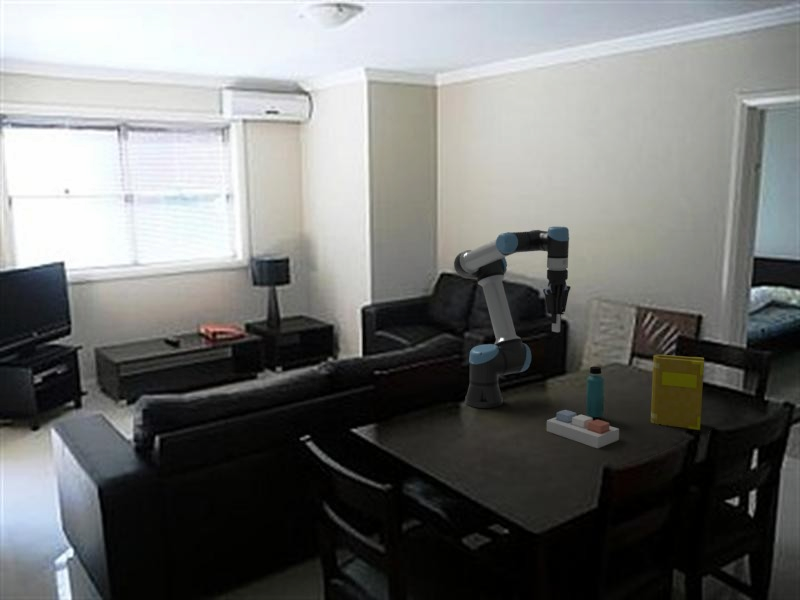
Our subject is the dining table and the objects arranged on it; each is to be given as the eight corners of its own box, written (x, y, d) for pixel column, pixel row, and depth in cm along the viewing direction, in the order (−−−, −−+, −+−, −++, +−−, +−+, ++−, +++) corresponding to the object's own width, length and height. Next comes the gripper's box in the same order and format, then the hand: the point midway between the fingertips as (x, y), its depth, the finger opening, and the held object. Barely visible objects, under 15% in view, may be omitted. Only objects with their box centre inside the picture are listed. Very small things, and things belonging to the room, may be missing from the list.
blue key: (556, 425, 250) (556, 412, 249) (565, 422, 253) (565, 409, 252) (567, 429, 246) (567, 416, 245) (576, 426, 249) (576, 412, 248)
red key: (588, 436, 239) (588, 422, 238) (597, 432, 242) (597, 419, 241) (600, 440, 235) (600, 426, 234) (609, 436, 238) (609, 423, 237)
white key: (571, 430, 245) (572, 417, 244) (580, 427, 248) (581, 414, 247) (583, 434, 241) (583, 421, 240) (592, 431, 244) (592, 417, 243)
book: (700, 423, 253) (704, 357, 249) (699, 429, 247) (703, 362, 243) (651, 418, 260) (654, 353, 256) (649, 423, 254) (652, 358, 250)
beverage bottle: (604, 421, 258) (605, 369, 254) (585, 420, 259) (587, 369, 256) (602, 415, 264) (604, 365, 261) (584, 415, 265) (586, 364, 262)
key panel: (546, 430, 249) (546, 420, 249) (567, 423, 257) (568, 413, 256) (597, 448, 232) (597, 437, 231) (618, 439, 239) (619, 428, 239)
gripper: (553, 271, 247) (552, 335, 251) (577, 268, 255) (575, 330, 259) (537, 269, 253) (536, 332, 257) (561, 266, 260) (559, 327, 265)
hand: (555, 331), depth 258 cm, fingers closed
